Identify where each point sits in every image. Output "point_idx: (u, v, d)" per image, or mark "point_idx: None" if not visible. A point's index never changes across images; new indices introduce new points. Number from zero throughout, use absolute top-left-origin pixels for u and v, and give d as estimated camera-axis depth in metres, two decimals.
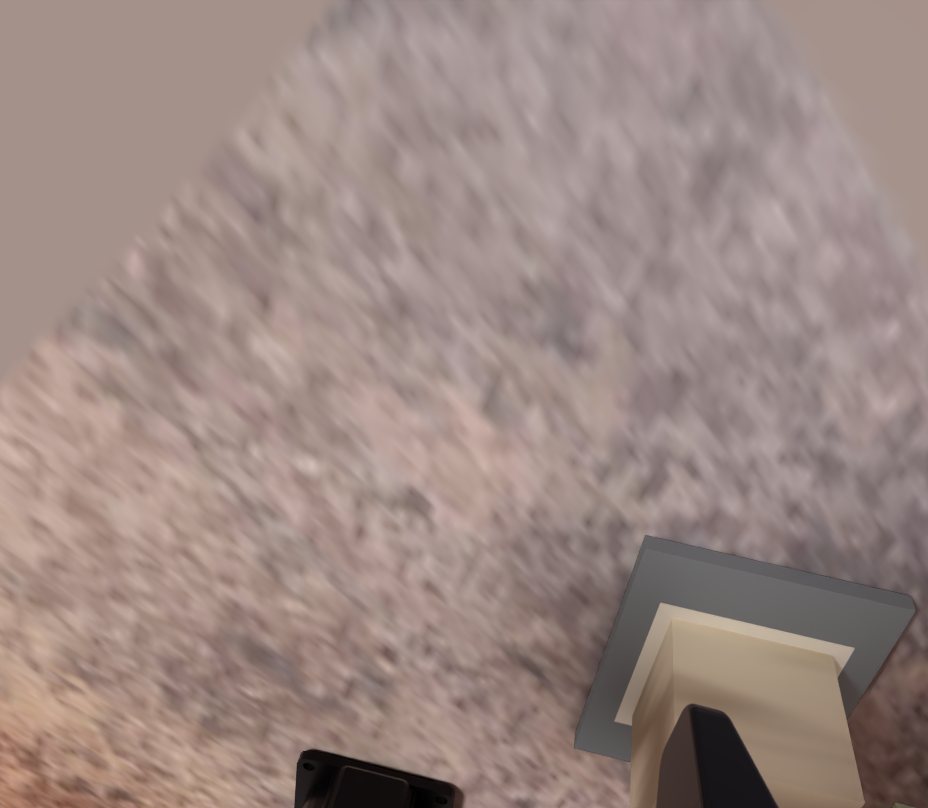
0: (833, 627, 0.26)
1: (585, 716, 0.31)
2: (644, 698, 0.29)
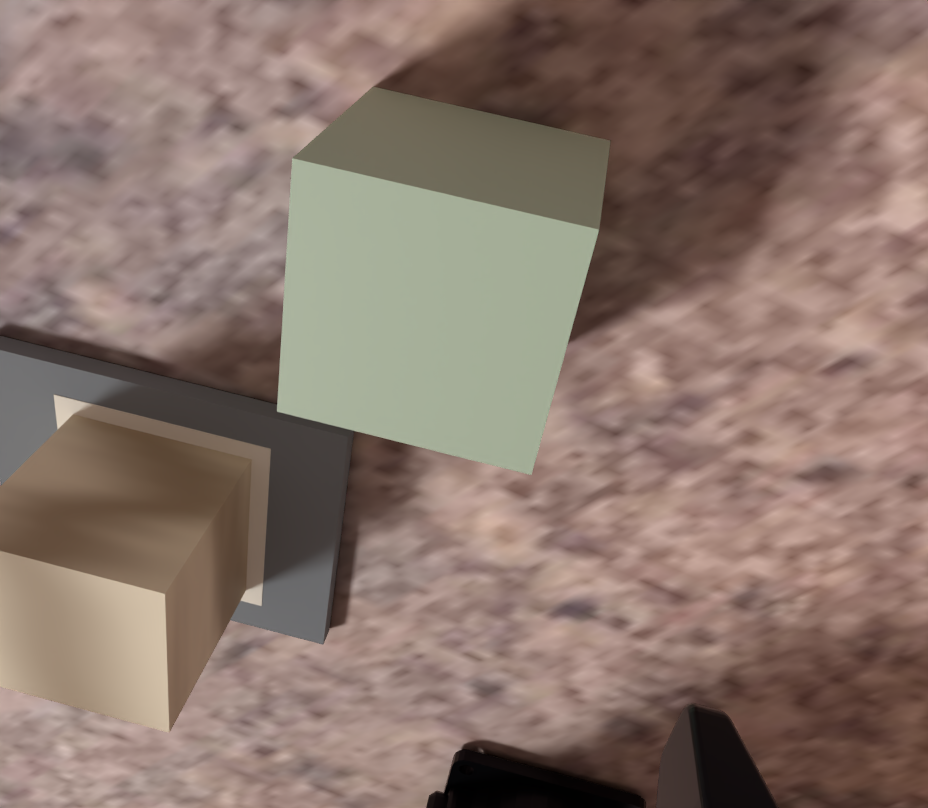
0: (34, 415, 0.24)
1: (266, 628, 0.27)
2: None
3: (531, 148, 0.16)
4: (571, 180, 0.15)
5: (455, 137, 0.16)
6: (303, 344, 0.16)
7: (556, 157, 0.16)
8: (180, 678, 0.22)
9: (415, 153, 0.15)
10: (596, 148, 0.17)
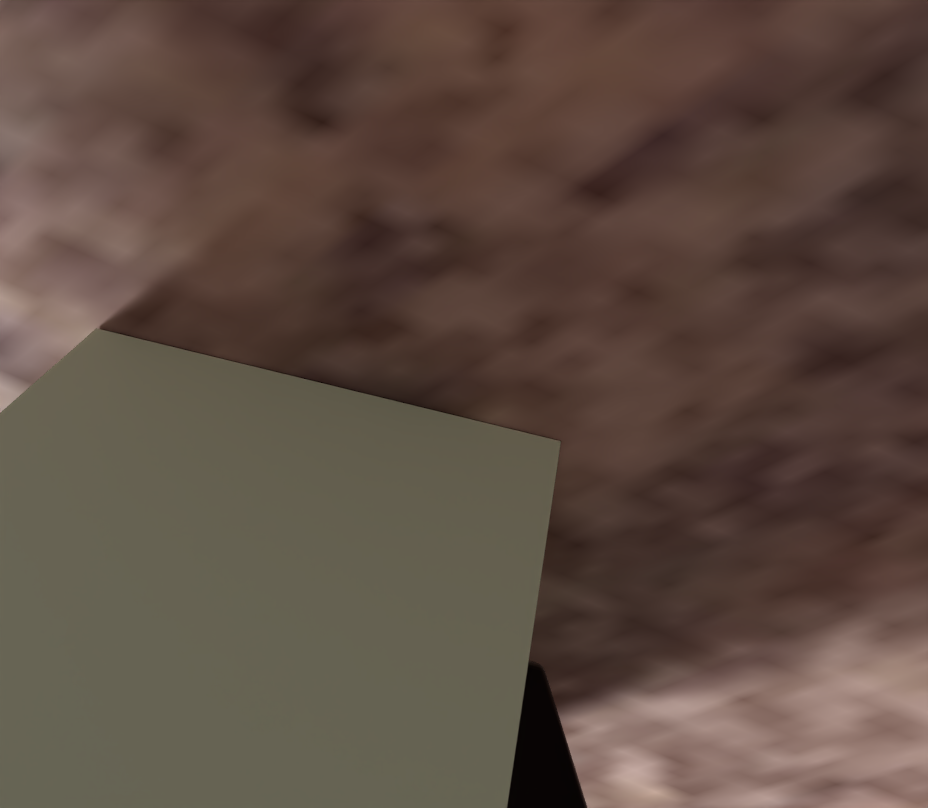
0: None
1: None
2: None
3: (378, 515, 0.08)
4: (447, 653, 0.06)
5: (203, 504, 0.07)
6: None
7: (429, 547, 0.07)
8: None
9: (65, 607, 0.06)
10: (527, 483, 0.08)
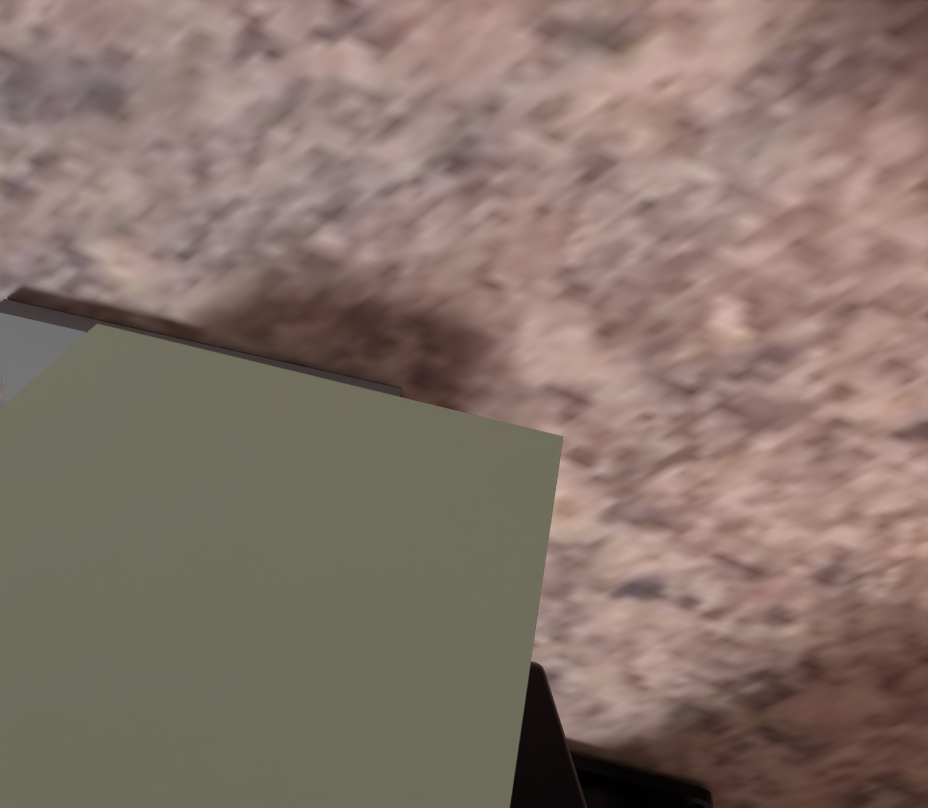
0: None
1: None
2: None
3: (381, 509, 0.08)
4: (449, 647, 0.06)
5: (206, 500, 0.07)
6: None
7: (431, 541, 0.07)
8: None
9: (65, 601, 0.06)
10: (529, 477, 0.08)
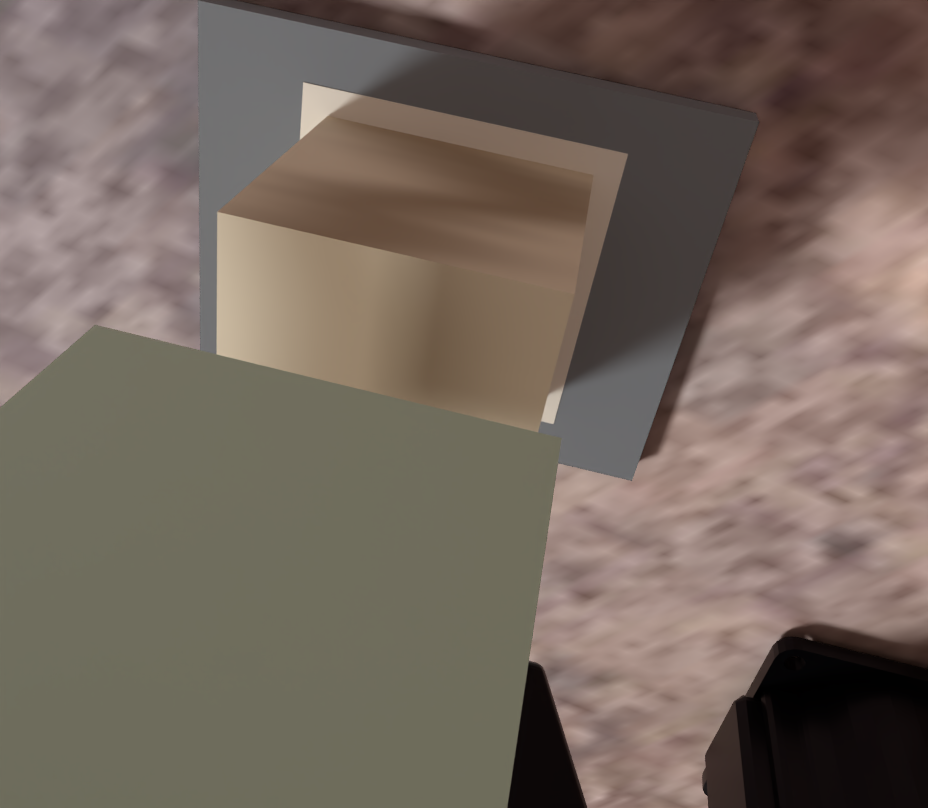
0: (267, 122, 0.16)
1: None
2: None
3: (379, 512, 0.08)
4: (447, 648, 0.06)
5: (202, 501, 0.07)
6: None
7: (429, 544, 0.07)
8: None
9: (61, 605, 0.06)
10: (526, 479, 0.08)
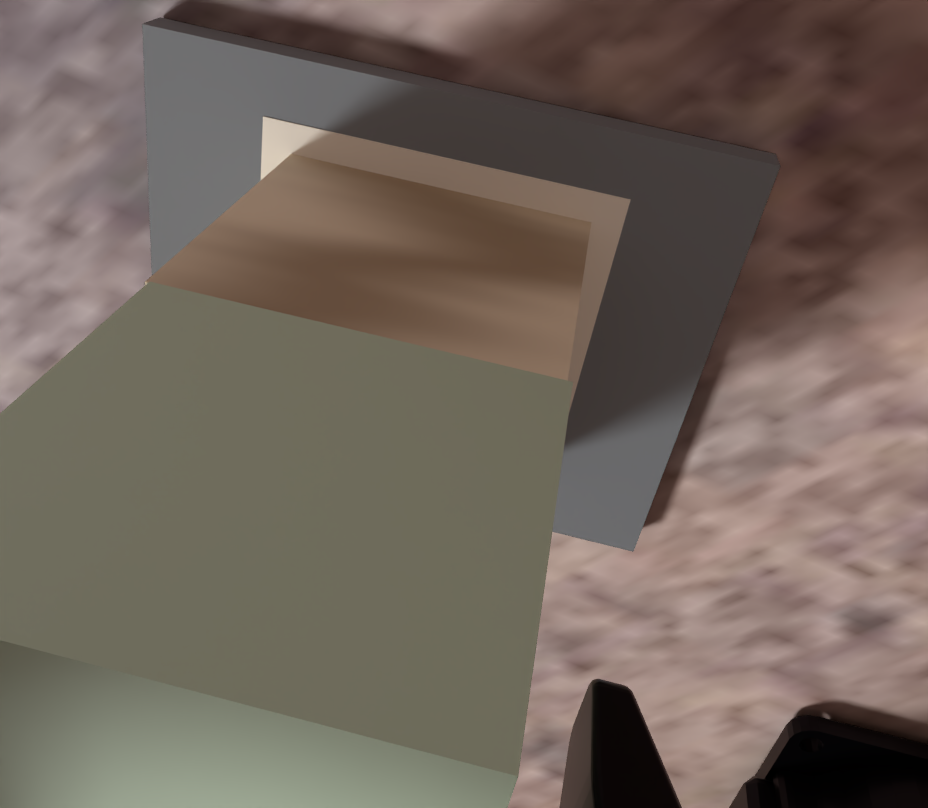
0: (224, 160, 0.15)
1: None
2: None
3: (412, 439, 0.08)
4: (477, 549, 0.07)
5: (258, 428, 0.08)
6: None
7: (458, 465, 0.08)
8: None
9: (144, 505, 0.07)
10: (543, 415, 0.09)
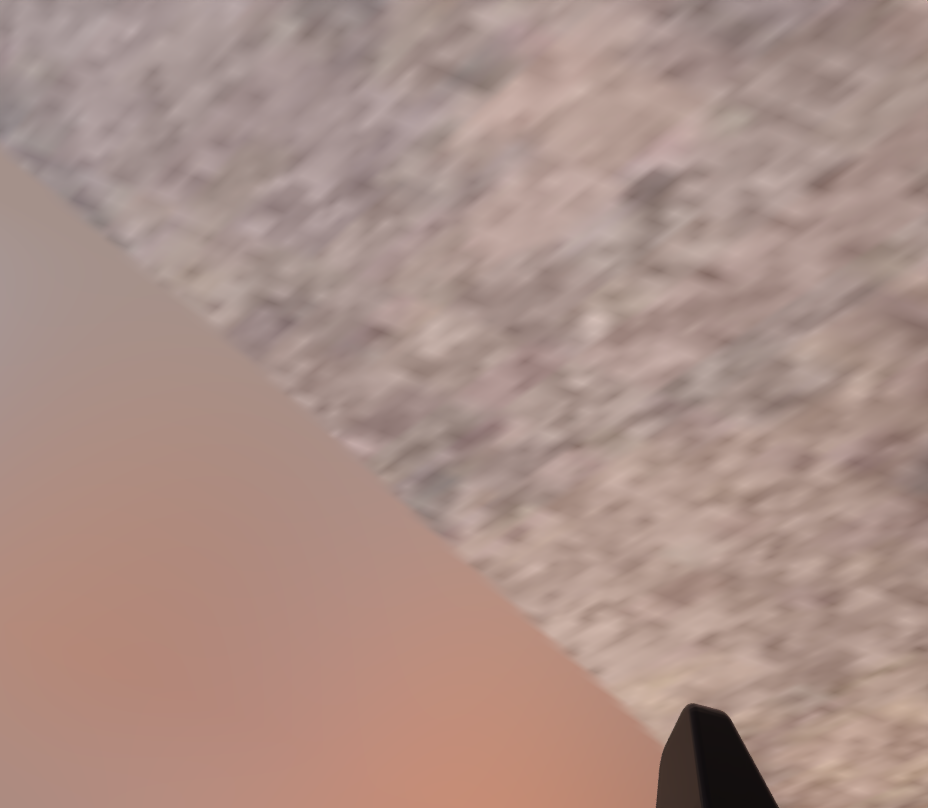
0: None
1: None
2: None
3: None
4: None
5: None
6: None
7: None
8: None
9: None
10: None
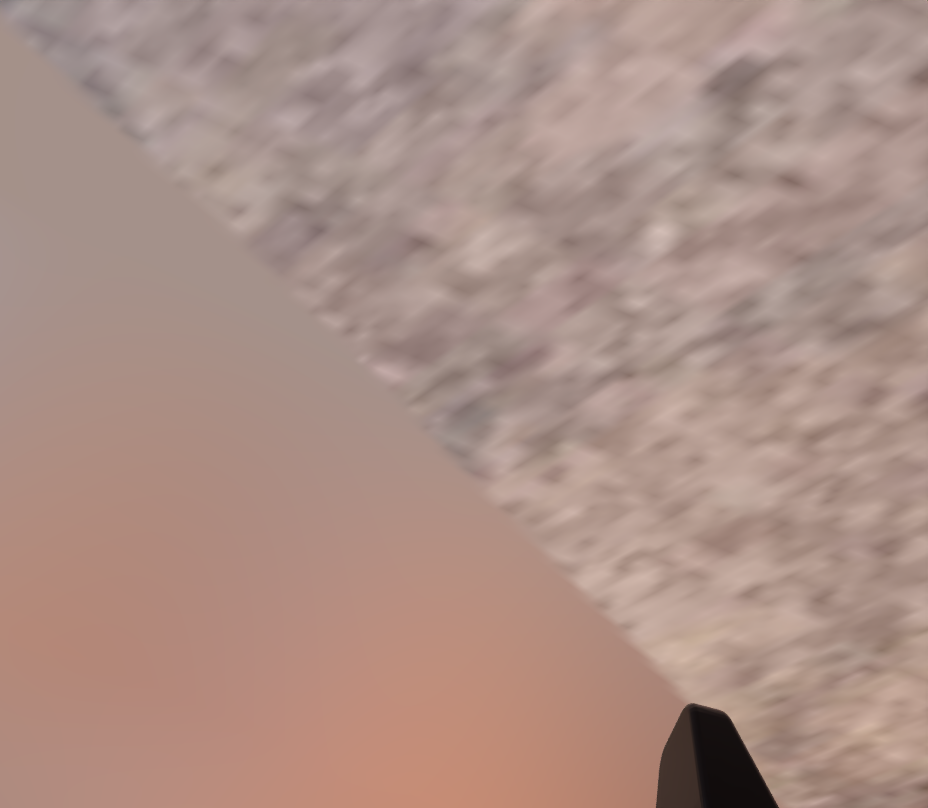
0: None
1: None
2: None
3: None
4: None
5: None
6: None
7: None
8: None
9: None
10: None
